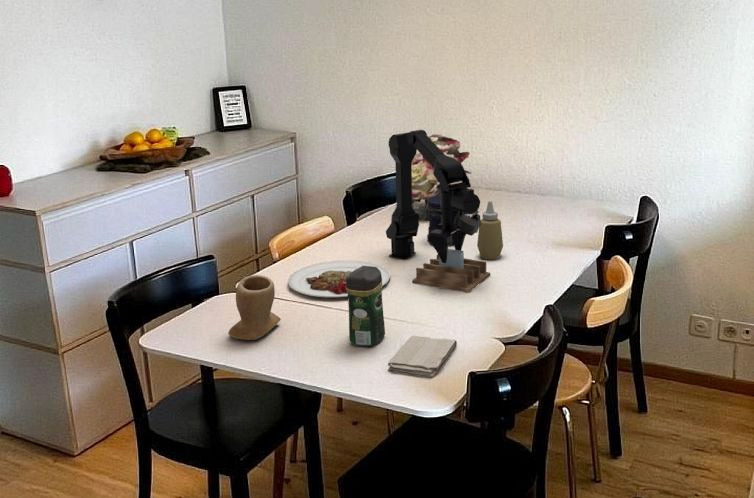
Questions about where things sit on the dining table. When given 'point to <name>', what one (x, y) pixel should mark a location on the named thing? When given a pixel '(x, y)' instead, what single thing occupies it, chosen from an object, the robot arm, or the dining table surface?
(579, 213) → the dining table surface
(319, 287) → the plated food
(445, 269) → the dish rack
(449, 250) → the plate tile
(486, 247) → the squeeze bottle
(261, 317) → the stone cup
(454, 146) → the rose bouquet
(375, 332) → the coffee jar
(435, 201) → the storage jar
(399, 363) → the washcloth
